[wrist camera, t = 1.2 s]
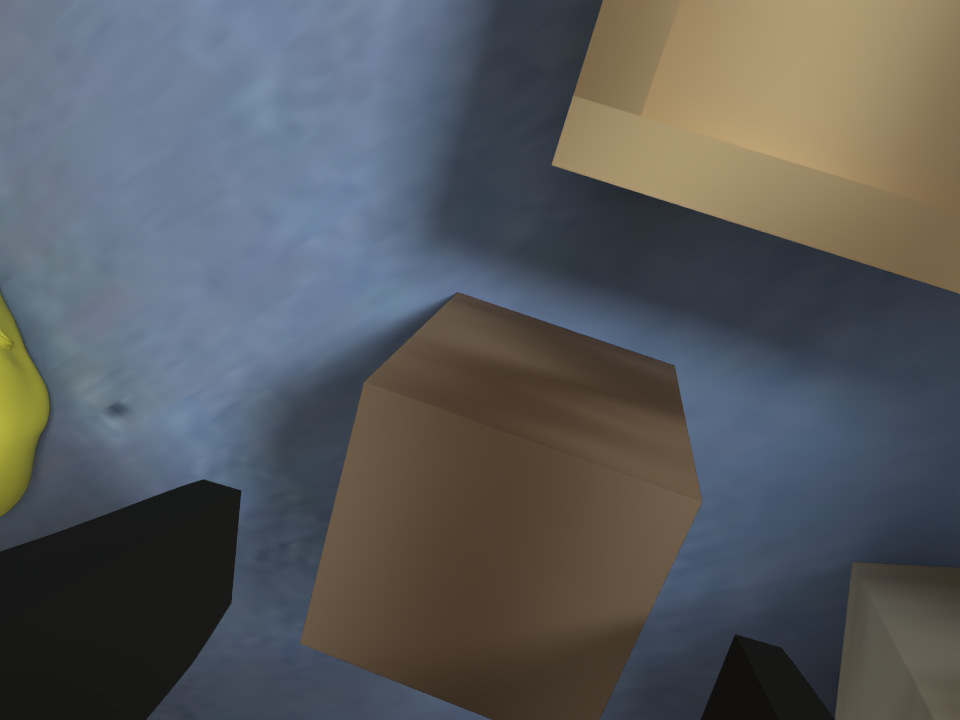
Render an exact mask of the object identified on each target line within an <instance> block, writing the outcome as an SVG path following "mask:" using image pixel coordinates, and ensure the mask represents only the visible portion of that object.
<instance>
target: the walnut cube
mask: <svg viewBox="0 0 960 720" xmlns="http://www.w3.org/2000/svg"><path fill="white" fill-rule="evenodd" d="M701 503H702V500H701V495H700V490H699V485H698V480H697V475H696V470H695V465H694V460H693V455H692V450H691V445H690V440H689V435H688V430H687V425H686V420H685V416H684V411H683V406H682V401H681V396H680V391H679V386H678V381H677V376H676V371H675V366H674V365H671V364H668V363H666V362H663V361H660V360H657V359H654V358H651V357H648V356H645V355H642V354H639V353H636V352H633V351H630V350H627V349H624V348H621V347H618V346H615V345H612V344H609V343H606V342H603V341H600V340H598V339H595V338H592V337H589V336H586V335H583V334H580V333H577V332H574V331H571V330H568V329H565V328H562V327H559V326H556V325H553V324H550V323H547V322H544V321H541V320H538V319H535V318H532V317H530V316H527V315H524V314H521V313H518V312H515V311H512V310H509V309H506V308H503V307H500V306H497V305H494V304H491V303H488V302H485V301H482V300H479V299H476V298H473V297H470V296H467V295H464V294H462V293H459V292H458V293H457V294H456V295H454V296H453V297H452V298H451V299H450V300H449V301H448V302H447V303H446V304H445V305H444V306H443V307H442V308H441V309H440V310H439V311H438V312H437V313H436V314H435V315H434V316H433V317H431V318H430V319H429V320H428V321H427V322H426V323H425V324H424V325H423V326H422V327H421V328H420V329H419V330H418V331H417V332H416V333H415V334H414V335H413V336H412V337H411V338H409V339H408V340H407V341H406V342H405V343H404V344H403V345H402V346H401V347H400V348H399V349H398V350H397V351H396V352H395V353H394V354H393V355H392V356H391V357H390V358H389V359H388V360H386V361H385V362H384V363H383V364H382V365H381V366H380V367H379V368H378V369H377V370H376V371H375V372H374V373H373V374H372V375H371V376H370V377H369V378H368V379H367V380H366V381H364V384H363V388H362V392H361V396H360V400H359V404H358V408H357V413H356V417H355V421H354V425H353V429H352V433H351V437H350V441H349V445H348V449H347V453H346V457H345V461H344V466H343V470H342V474H341V478H340V482H339V486H338V490H337V494H336V498H335V502H334V506H333V510H332V514H331V518H330V523H329V527H328V531H327V535H326V539H325V543H324V547H323V551H322V555H321V559H320V563H319V567H318V571H317V576H316V580H315V584H314V588H313V592H312V596H311V600H310V604H309V608H308V612H307V616H306V620H305V624H304V629H303V633H302V637H301V641H300V644H302V645H305V646H307V647H310V648H312V649H315V650H317V651H320V652H322V653H325V654H327V655H330V656H332V657H335V658H338V659H340V660H343V661H345V662H348V663H350V664H353V665H355V666H358V667H360V668H363V669H365V670H368V671H370V672H373V673H375V674H378V675H381V676H383V677H386V678H388V679H391V680H393V681H396V682H398V683H401V684H403V685H406V686H408V687H411V688H413V689H416V690H418V691H421V692H423V693H426V694H429V695H431V696H434V697H436V698H439V699H441V700H444V701H446V702H449V703H451V704H454V705H456V706H459V707H461V708H464V709H466V710H469V711H472V712H474V713H477V714H479V715H482V716H484V717H487V718H489V719H492V720H599V719H600V717H601V715H602V713H603V711H604V709H605V707H606V704H607V702H608V700H609V698H610V696H611V694H612V692H613V690H614V688H615V685H616V683H617V681H618V679H619V677H620V675H621V673H622V671H623V668H624V666H625V664H626V662H627V660H628V658H629V656H630V654H631V651H632V649H633V647H634V645H635V643H636V641H637V639H638V637H639V634H640V632H641V630H642V628H643V626H644V624H645V622H646V620H647V618H648V615H649V613H650V611H651V609H652V607H653V605H654V603H655V601H656V598H657V596H658V594H659V592H660V590H661V588H662V586H663V584H664V581H665V579H666V577H667V575H668V573H669V571H670V569H671V567H672V564H673V562H674V560H675V558H676V556H677V554H678V552H679V550H680V548H681V545H682V543H683V541H684V539H685V537H686V535H687V533H688V531H689V528H690V526H691V524H692V522H693V520H694V518H695V516H696V514H697V511H698V509H699V507H700V505H701Z"/></svg>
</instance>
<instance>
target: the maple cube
mask: <svg viewBox="0 0 960 720" xmlns="http://www.w3.org/2000/svg"><path fill="white" fill-rule="evenodd" d="M835 720H960V568H958V567H940V566H922V565H903V564H885V563H867V562H852V568H851V577H850V586H849V595H848V604H847V613H846V623H845V632H844V641H843V650H842V659H841V668H840V677H839V686H838V695H837V704H836V713H835Z"/></svg>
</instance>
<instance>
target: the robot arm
mask: <svg viewBox="0 0 960 720" xmlns="http://www.w3.org/2000/svg"><path fill="white" fill-rule="evenodd" d="M240 498H241V490H238V489H234V488H231V487H227V486H224V485H221V484H217V483H214V482H210V481H207V480H200V481H197V482H194V483H190V484H187V485H184V486H181V487H179V488H176V489H173V490H170V491H167V492H165V493H162V494H159V495H157V496H154V497H151V498H149V499H146V500H143V501H141V502H138V503H135V504H133V505H130V506H127V507H125V508H122V509H120V510H117V511H114V512H111V513H109V514H106V515H103V516H101V517H98V518H95V519H93V520H90V521H87V522H85V523H82V524H79V525H76V526H74V527H71V528H68V529H66V530H63V531H60V532H57V533H55V534H52V535H49V536H46V537H43V538H40V539H37V540H34V541H31V542H28V543H25V544H22V545H19V546H16V547H13V548H10V549H7V550H4V551H1V552H0V720H146V719H147V718H148V717H149V715H150V714H151V713H152V712H153V711H154V709H155V708H156V707H157V706H158V705H159V703H160V702H161V701H162V700H163V699H164V697H165V696H166V695H167V694H168V693H169V691H170V690H171V689H172V688H173V686H174V685H175V684H176V683H177V682H178V680H179V679H180V678H181V677H182V676H183V674H184V673H185V672H186V671H187V669H188V668H189V667H190V666H191V664H192V663H193V662H194V660H195V659H196V657H197V656H198V654H199V653H200V651H201V650H202V648H203V647H204V645H205V644H206V642H207V641H208V639H209V638H210V636H211V634H212V633H213V631H214V630H215V628H216V627H217V625H218V623H219V622H220V620H221V619H222V617H223V615H224V614H225V612H226V611H227V609H228V607H229V606H230V604H231V600H232V589H233V578H234V566H235V555H236V544H237V532H238V521H239V510H240ZM701 720H835V719H834V718H833V716H832V715H831V714H830V712H829V711H828V710H827V708H826V707H825V706H824V704H823V703H822V701H821V700H820V699H819V697H818V696H817V694H816V693H815V692H814V690H813V689H812V688H811V686H810V685H809V684H808V682H807V681H806V679H805V678H804V677H803V675H802V674H801V673H800V671H799V670H798V669H797V667H796V666H795V665H794V663H793V662H792V661H791V659H790V658H789V657H788V655H787V654H786V653H785V652H784V650H783V649H782V648H780V647H777V646H773V645H770V644H767V643H763V642H760V641H756V640H753V639H749V638H746V637H743V636H739V635H736V634H735V636H734V639H733V641H732V644H731V646H730V649H729V651H728V653H727V656H726V658H725V661H724V663H723V666H722V668H721V671H720V673H719V676H718V678H717V681H716V683H715V686H714V688H713V691H712V693H711V696H710V698H709V701H708V703H707V706H706V708H705V710H704V713H703V715H702V718H701Z"/></svg>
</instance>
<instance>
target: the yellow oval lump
mask: <svg viewBox="0 0 960 720" xmlns="http://www.w3.org/2000/svg"><path fill="white" fill-rule="evenodd" d="M49 410H50V405H49V396H48V392H47V389H46V386H45V384H44V382H43V380H42V378H41V376H40V374H39V372H38V371H37V369H36V367H35V365H34V364H33V362H32V360H31V359H30V357H29V355H28V353H27V351H26V348H25V346H24V343H23V341H22V338H21V336H20V333H19V330H18V328H17V325H16V323H15V320H14V318H13V316H12V315H11V313H10V311H9V309H8V308H7V306H6V304H5V302H4V300H3V298H2V296H1V294H0V516H2V515H4V514H5V513H7V512H8V511H9V510H10V509H11V508H13V507H14V506H15V504H16V503H17V502H18V501H19V500H20V499H21V497H22V496H23V494H24V493H25V491H26V489H27V487H28V484H29V481H30V478H31V473H32V468H33V461H34V455H35V449H36V445H37V442H38V439H39V437H40V435H41V433H42V431H43V430H44V428H45V426H46V424H47V421H48V417H49Z"/></svg>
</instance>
